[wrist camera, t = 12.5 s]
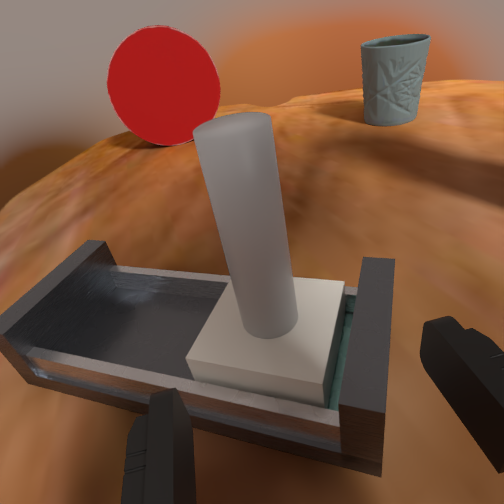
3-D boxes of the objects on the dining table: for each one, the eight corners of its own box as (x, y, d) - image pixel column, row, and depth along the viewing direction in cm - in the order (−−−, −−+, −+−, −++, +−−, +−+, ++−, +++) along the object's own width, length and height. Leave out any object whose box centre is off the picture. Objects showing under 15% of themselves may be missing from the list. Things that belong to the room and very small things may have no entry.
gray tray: (113, 289, 37) (87, 239, 33) (390, 323, 27) (395, 258, 24) (27, 383, 29) (-18, 330, 25) (381, 477, 19) (385, 413, 16)
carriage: (242, 301, 29) (192, 105, 21) (345, 313, 26) (337, 91, 18) (198, 388, 23) (103, 164, 15) (325, 416, 20) (299, 157, 12)
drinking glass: (354, 115, 68) (353, 42, 62) (409, 105, 68) (415, 30, 61) (370, 131, 60) (371, 49, 53) (433, 120, 59) (443, 36, 53)
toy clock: (225, 125, 78) (202, 14, 67) (230, 132, 73) (206, 14, 62) (132, 147, 76) (92, 37, 65) (130, 156, 71) (87, 39, 60)
